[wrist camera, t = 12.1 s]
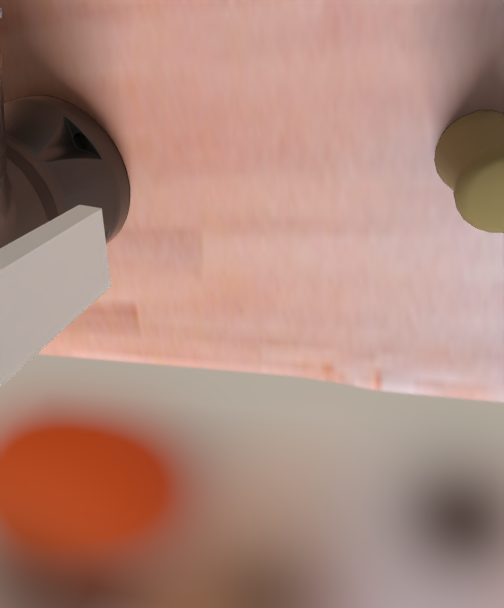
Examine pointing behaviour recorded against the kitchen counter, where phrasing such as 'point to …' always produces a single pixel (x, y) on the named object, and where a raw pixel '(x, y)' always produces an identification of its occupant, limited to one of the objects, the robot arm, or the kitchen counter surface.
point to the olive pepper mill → (475, 167)
